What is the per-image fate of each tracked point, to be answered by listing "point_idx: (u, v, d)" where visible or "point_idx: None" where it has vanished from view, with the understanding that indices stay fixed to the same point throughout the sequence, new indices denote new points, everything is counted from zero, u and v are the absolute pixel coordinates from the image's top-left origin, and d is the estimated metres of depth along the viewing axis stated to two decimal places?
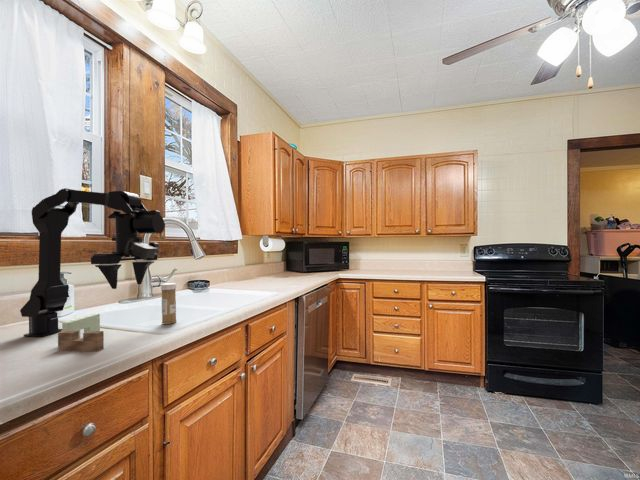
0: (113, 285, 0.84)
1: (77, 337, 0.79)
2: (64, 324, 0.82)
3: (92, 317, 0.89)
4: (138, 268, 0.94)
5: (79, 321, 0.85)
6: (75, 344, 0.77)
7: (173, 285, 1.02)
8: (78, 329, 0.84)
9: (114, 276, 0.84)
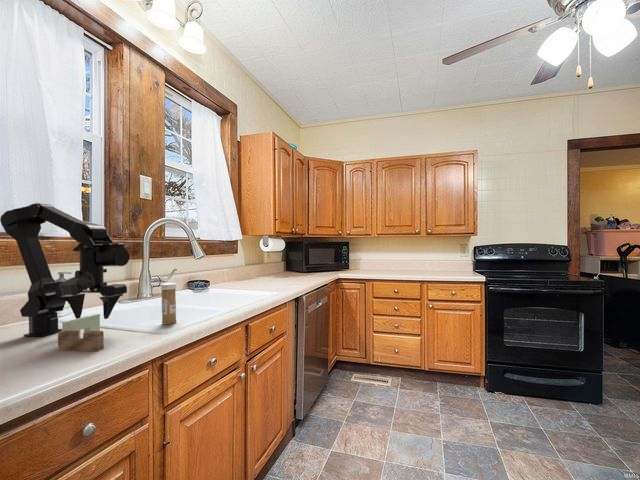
0: None
1: (77, 337, 0.79)
2: (64, 324, 0.82)
3: (92, 317, 0.89)
4: None
5: (79, 321, 0.85)
6: (75, 344, 0.77)
7: (173, 285, 1.02)
8: (78, 329, 0.84)
9: (71, 307, 0.90)
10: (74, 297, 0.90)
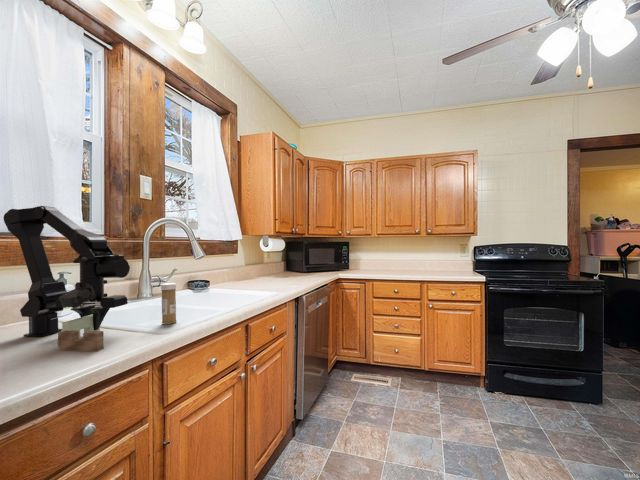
0: None
1: (77, 337, 0.79)
2: (64, 324, 0.82)
3: (92, 317, 0.89)
4: None
5: (79, 321, 0.85)
6: (75, 344, 0.77)
7: (173, 285, 1.02)
8: (78, 329, 0.84)
9: None
10: (85, 309, 0.90)
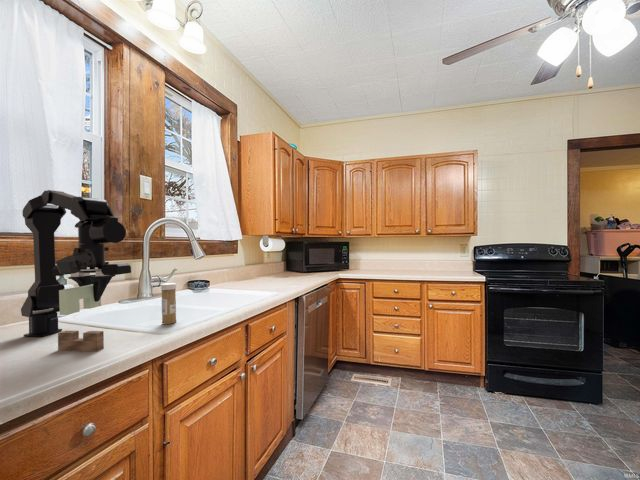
0: None
1: (77, 337, 0.79)
2: (61, 292, 0.73)
3: (92, 287, 0.81)
4: None
5: (78, 290, 0.76)
6: (75, 344, 0.77)
7: (173, 285, 1.02)
8: (77, 298, 0.76)
9: None
10: (84, 278, 0.81)
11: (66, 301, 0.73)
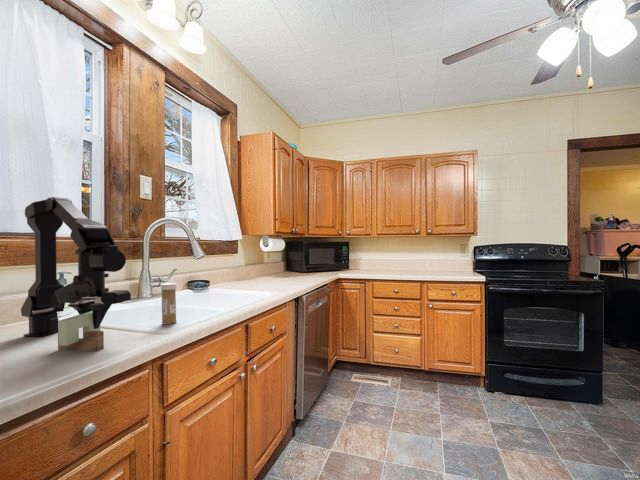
0: None
1: None
2: (60, 322, 0.73)
3: (92, 314, 0.80)
4: None
5: (77, 319, 0.76)
6: (75, 344, 0.77)
7: (173, 285, 1.02)
8: (76, 328, 0.76)
9: None
10: (84, 305, 0.81)
11: (65, 332, 0.73)
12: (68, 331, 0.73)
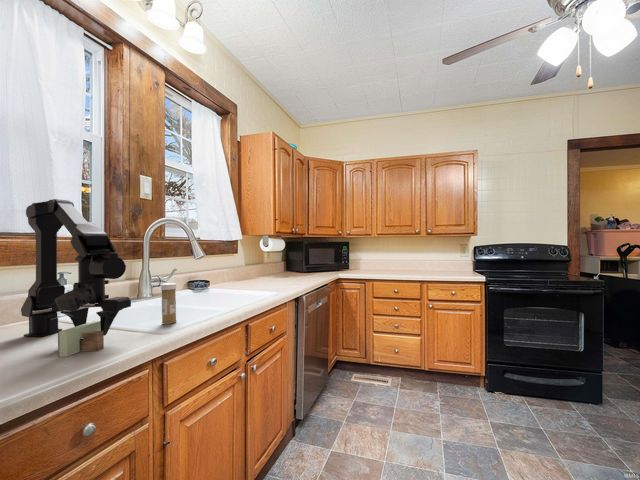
0: None
1: None
2: (61, 333, 0.73)
3: (93, 325, 0.80)
4: None
5: (78, 329, 0.76)
6: None
7: (173, 285, 1.02)
8: (77, 338, 0.76)
9: (73, 322, 0.81)
10: (77, 312, 0.81)
11: (66, 342, 0.73)
12: (69, 342, 0.74)
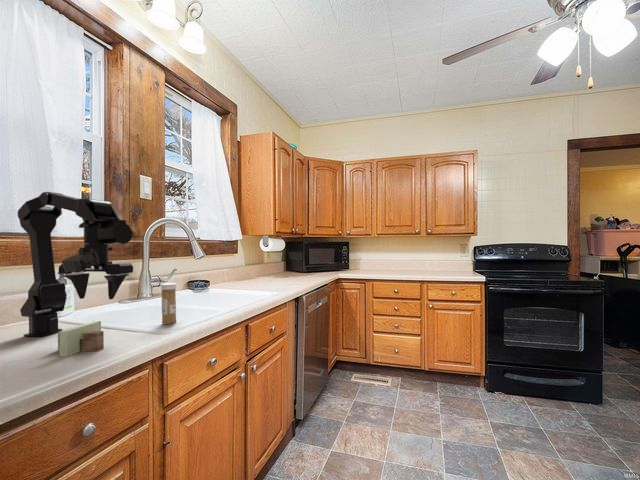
0: None
1: None
2: (61, 333, 0.73)
3: (93, 325, 0.80)
4: None
5: (78, 329, 0.76)
6: None
7: (173, 285, 1.02)
8: (77, 338, 0.76)
9: (75, 286, 0.85)
10: (78, 276, 0.85)
11: (66, 342, 0.73)
12: (69, 342, 0.74)
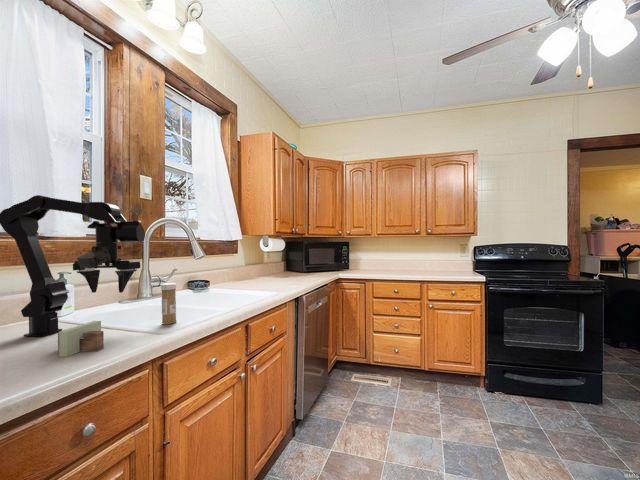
0: None
1: None
2: (61, 333, 0.73)
3: (93, 324, 0.80)
4: None
5: (78, 329, 0.76)
6: None
7: (173, 285, 1.02)
8: (77, 338, 0.76)
9: (87, 281, 0.94)
10: (90, 272, 0.94)
11: (66, 342, 0.73)
12: (69, 342, 0.74)
